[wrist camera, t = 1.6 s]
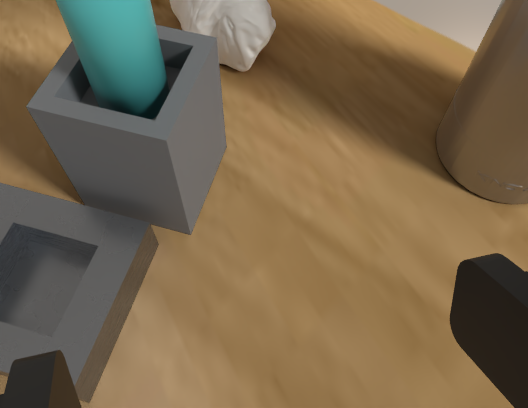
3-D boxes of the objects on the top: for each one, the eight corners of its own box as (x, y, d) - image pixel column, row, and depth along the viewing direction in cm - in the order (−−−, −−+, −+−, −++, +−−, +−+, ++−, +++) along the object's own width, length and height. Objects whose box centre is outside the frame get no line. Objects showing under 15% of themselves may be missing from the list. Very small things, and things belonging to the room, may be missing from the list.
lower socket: (20, 206, 33) (0, 182, 30) (158, 244, 32) (149, 222, 29) (-71, 351, 28) (-104, 337, 25) (89, 403, 27) (71, 393, 24)
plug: (116, 64, 29) (37, -175, 18) (180, 79, 28) (136, -160, 18) (85, 115, 27) (-22, -122, 16) (154, 131, 26) (87, -103, 16)
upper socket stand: (131, 124, 37) (93, 11, 28) (226, 146, 36) (216, 37, 27) (86, 207, 33) (25, 106, 24) (190, 234, 32) (166, 140, 23)
